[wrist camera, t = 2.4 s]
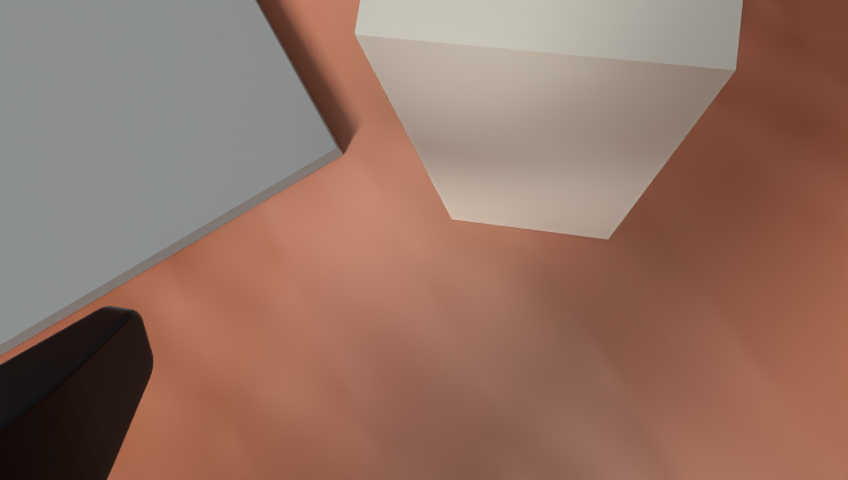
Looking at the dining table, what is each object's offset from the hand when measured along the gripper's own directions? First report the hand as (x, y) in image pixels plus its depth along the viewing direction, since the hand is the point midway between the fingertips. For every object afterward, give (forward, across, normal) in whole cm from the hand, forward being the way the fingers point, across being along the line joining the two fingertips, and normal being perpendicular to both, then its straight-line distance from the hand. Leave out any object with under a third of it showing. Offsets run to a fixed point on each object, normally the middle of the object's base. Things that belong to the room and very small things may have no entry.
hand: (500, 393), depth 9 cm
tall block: (+13, 0, +4) cm, 14 cm away
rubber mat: (+14, +17, +4) cm, 22 cm away
